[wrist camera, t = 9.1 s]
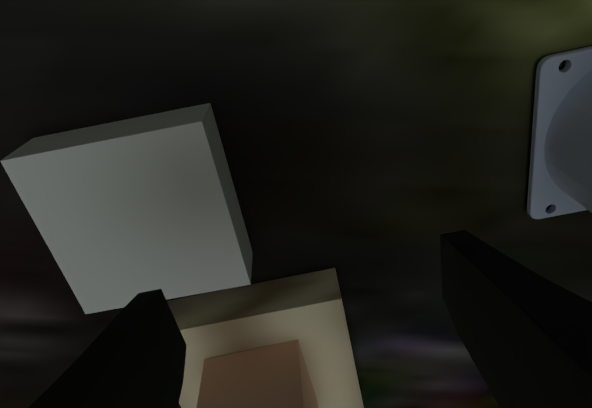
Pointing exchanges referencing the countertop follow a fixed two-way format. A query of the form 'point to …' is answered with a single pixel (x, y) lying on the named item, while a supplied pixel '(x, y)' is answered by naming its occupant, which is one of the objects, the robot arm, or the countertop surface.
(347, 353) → the olive block
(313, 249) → the countertop surface
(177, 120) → the grey block
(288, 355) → the terracotta cube
